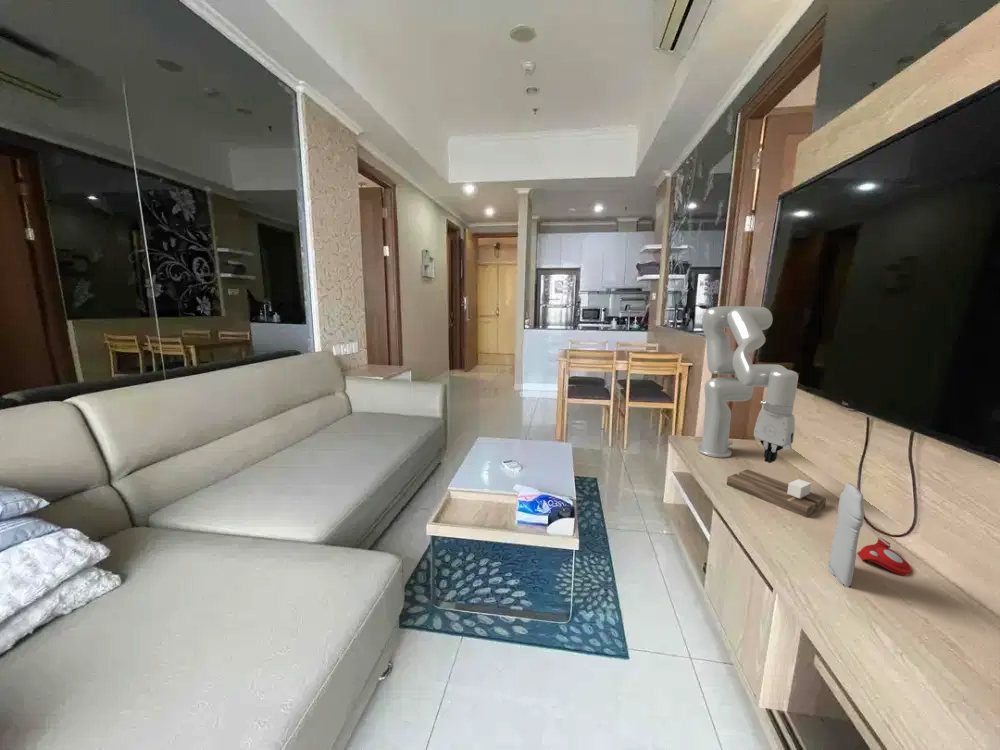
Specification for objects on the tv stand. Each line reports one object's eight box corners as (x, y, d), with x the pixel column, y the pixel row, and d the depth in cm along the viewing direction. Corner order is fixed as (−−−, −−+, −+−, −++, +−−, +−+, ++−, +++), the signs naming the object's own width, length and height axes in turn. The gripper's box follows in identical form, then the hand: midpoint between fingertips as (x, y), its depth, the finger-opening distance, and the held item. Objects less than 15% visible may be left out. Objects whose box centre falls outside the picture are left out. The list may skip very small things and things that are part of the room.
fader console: (746, 477, 145) (747, 469, 145) (825, 506, 125) (826, 497, 124) (726, 484, 139) (727, 476, 139) (806, 517, 119) (807, 507, 118)
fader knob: (796, 494, 129) (798, 478, 128) (808, 499, 126) (811, 483, 125) (786, 499, 126) (788, 483, 125) (798, 504, 123) (801, 487, 122)
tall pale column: (821, 558, 101) (835, 476, 96) (841, 562, 99) (856, 479, 95) (836, 585, 91) (852, 496, 87) (859, 590, 90) (877, 500, 85)
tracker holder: (925, 575, 93) (880, 562, 94) (912, 587, 95) (868, 574, 96) (890, 534, 104) (849, 523, 105) (879, 546, 106) (840, 535, 107)
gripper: (747, 404, 133) (740, 455, 137) (798, 417, 120) (788, 473, 125) (760, 400, 136) (752, 450, 141) (811, 412, 124) (800, 467, 128)
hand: (769, 461), depth 133 cm, fingers closed
